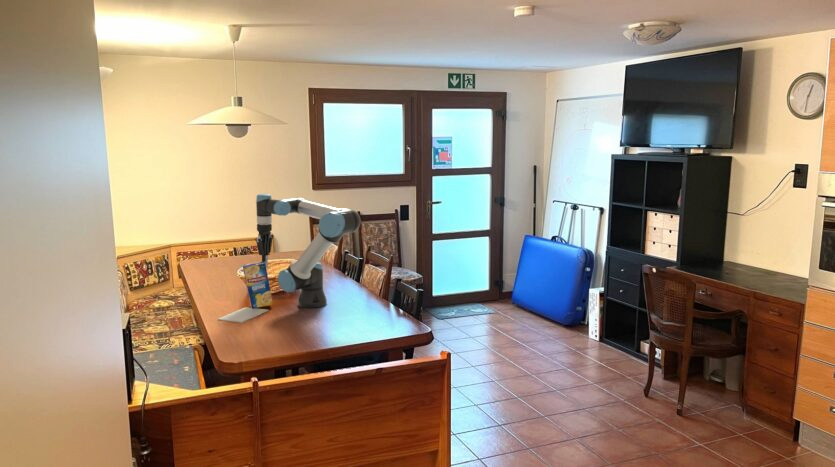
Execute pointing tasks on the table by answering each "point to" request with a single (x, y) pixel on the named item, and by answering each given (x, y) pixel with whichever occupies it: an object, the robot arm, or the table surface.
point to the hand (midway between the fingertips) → (265, 267)
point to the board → (243, 315)
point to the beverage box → (257, 284)
